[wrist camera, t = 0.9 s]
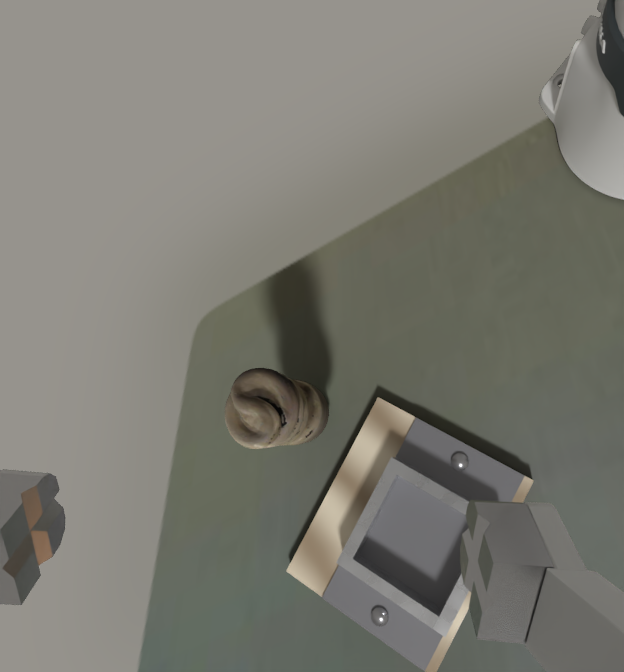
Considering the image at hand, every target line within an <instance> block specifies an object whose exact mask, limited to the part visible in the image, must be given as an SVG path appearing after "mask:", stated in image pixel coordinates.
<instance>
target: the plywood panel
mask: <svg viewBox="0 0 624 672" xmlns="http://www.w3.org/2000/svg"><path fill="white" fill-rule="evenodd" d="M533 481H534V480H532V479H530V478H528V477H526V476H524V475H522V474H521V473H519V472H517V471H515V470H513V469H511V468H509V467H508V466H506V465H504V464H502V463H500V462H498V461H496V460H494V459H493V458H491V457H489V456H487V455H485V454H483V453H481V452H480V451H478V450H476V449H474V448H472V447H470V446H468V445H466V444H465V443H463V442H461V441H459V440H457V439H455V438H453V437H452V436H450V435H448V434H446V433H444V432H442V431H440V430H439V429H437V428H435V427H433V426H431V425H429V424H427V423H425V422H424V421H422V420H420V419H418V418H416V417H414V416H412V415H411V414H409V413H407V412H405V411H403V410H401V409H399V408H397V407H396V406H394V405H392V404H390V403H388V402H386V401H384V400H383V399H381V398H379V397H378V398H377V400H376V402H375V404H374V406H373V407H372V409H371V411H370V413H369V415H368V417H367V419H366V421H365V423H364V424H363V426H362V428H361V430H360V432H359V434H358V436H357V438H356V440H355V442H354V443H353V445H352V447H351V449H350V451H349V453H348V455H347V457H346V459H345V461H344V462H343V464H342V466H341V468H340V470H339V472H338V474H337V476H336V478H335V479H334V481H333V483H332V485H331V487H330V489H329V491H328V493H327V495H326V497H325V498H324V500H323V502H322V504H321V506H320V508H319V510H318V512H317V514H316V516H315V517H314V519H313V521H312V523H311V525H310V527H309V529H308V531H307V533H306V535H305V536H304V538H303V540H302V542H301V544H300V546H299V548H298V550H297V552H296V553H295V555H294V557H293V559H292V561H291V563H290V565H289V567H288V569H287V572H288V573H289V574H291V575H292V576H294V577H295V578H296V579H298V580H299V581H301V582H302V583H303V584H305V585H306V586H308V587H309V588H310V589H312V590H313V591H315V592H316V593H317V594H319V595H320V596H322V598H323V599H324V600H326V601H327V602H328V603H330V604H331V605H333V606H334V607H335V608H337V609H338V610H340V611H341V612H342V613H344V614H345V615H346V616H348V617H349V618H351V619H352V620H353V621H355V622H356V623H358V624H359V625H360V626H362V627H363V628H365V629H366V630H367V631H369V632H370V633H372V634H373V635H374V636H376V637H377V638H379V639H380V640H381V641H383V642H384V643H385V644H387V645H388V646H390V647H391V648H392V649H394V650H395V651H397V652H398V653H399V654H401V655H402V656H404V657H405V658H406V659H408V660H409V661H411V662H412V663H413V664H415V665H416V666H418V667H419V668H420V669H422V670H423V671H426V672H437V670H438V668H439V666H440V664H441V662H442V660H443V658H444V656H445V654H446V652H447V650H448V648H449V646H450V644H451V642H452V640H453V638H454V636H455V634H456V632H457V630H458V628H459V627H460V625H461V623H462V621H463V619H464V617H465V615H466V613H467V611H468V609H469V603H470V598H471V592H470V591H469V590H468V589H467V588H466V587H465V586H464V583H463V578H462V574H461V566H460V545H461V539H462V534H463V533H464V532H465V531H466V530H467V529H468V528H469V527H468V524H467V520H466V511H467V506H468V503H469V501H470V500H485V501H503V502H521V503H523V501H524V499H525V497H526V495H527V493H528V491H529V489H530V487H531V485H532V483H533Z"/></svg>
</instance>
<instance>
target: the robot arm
mask: <svg viewBox="0 0 624 672" xmlns="http://www.w3.org/2000/svg"><path fill="white" fill-rule="evenodd" d="M597 9H598V10H599V12H601V16H600V17H599V18H598V17H596V16H590V17H589V18H588V19H587V20H586V22H585V24H584V26H583V28H582V31H581V33H582V34H584V37H583V38H582V39H580V40H577V41H576V42H575V44H574V46H573V48H572V51H571V54H570V55H569V56H568V57H567V58H566V60H565V61H564V62H563V63H562V65H561V66H560V67H559V68H558V70H557V71H556V72H555V73H554V75H553V76H552V77H551V79H550V80H549V81H548V82H547V83H546V85H545V86H544V87H543V89H542V91H541V94H540V97H539V104H540V106H541V108H542V110H543V111H544V112H545V114H546V115H547V116H548V117H549V119H550V120H551V121H552V122H553V123H554V126H555V129H556V132H557V138H558V143H559V147H560V150H561V153H562V155H563V157H564V159H565V161H566V163H567V165H568V166H569V167H570V169H571V170H572V171H573V172H574V173H575V174H576V175H577V176H578V177H579V178H580V179H581V180H582V181H583V182H585V183H586V184H587V185H589V186H590V187H592V188H594V189H595V190H597V191H599V192H601V193H604V194H606V195H609V196H612V197H615V198H619V199H623V200H624V0H600V1H599V4H598V7H597ZM560 84H561V87H559V86H558V85H560ZM58 492H59V486H58V482H57V479H56V476H54V475H52V474H49V473H39V472H27V471H16V470H4V469H3V470H0V604H12V605H22V603H23V601H24V600H25V599H26V597H27V596H28V594H29V592H30V591H31V589H32V588H33V586H34V585H35V583H36V582H37V580H38V579H39V577H40V569H39V565H40V564H42V563H43V562H45V561H47V560H48V559H50V558H51V557H53V555H54V554H55V552H56V550H57V549H58V547H59V545H60V543H61V540H62V537H63V533H64V530H65V514H64V509H63V507H62V506H61V505H60V504H59V503H58V502H57V501H56V500H55V499H54V497H55V496H56V494H57V493H58ZM466 520H467V524H468V527H469V528H468V529H467V530H466V531H465V532H464V533H463V534H462V539H461V545H460V566H461V574H462V578H463V583H464V586H465V587H466V588H467V589H468V590H469V591H470V592H471V598H470V603H469V609H470V613H471V617H472V621H473V625H474V629H475V634H476V638H477V639H482V640H491V641H501V642H511V643H521V644H526V645H525V647H526V648H527V649H528V650H529V651H530V653H531V654H532V655H533V656H534V657H535V659H536V660H537V661H538V662H539V663H540V665H541V666H542V667H543V668H544V669H545V671H546V672H624V592H622V591H621V590H620V589H618V588H617V587H616V586H614V585H613V584H612V583H610V582H609V581H608V580H607V579H605V578H604V577H603V576H601V575H600V574H599V573H597V572H596V571H587V569H586V567H585V565H584V563H583V561H582V559H581V557H580V555H579V553H578V551H577V549H576V547H575V545H574V543H573V541H572V539H571V537H570V535H569V533H568V531H567V530H566V528H565V526H564V524H563V522H562V520H561V518H560V516H559V514H558V512H557V510H556V508H555V507H554V506H553V505H552V504H551V503H534V502H523V503H521V502H503V501H485V500H470V501H469V503H468V506H467V511H466Z"/></svg>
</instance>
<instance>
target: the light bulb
mask: <svg viewBox="0 0 624 672" xmlns="http://www.w3.org/2000/svg"><path fill="white" fill-rule="evenodd" d="M328 416H329V408H328V403H327V401H326V399H325V397H324V395H323V394H322V393H321V392H320V391H319V390H318V389H317V388H316V387H314V386H313V385H311V384H309V383H307V382H305V381H301V380H293V379H290V378H288V377H286V376H285V375H283V374H281V373H278V372H277V371H274V370H271V369H266V368H255V369H250V370H248V371H245V372H243V373H242V374H241V375H240V376H238V378H237V379H236V380H235V382H234V384H233V386H232V389H231V393H230V395H229V397H228V399H227V402H226V407H225V421H226V425H227V428H228V430H229V432H230V434H231V436H232V437H233V438H234V439H235V441H236V442H238V443H239V444H241V445H242V446H244V447H247V448H250V449H261V448H269V447H274V446H278V445H279V446H280V445H298V444H303V443H306V442H309V441H312V440H313V439H315V438H317V437H318V436H319V435H320V434H321V433H322V431H323V430H324V428H325V427H326V424H327V421H328Z"/></svg>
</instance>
